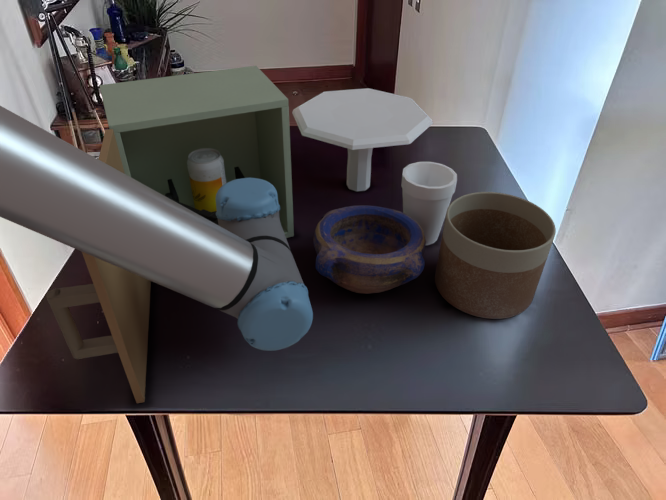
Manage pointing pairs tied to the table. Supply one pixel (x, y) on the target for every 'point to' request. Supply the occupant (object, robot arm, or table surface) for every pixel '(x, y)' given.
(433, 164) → the foam cup
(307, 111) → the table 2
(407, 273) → the bowl
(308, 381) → the table surface
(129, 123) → the cupboard
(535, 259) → the planter
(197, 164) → the beer can
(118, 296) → the cupboard door
